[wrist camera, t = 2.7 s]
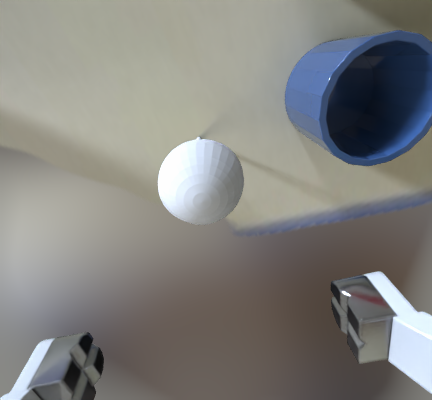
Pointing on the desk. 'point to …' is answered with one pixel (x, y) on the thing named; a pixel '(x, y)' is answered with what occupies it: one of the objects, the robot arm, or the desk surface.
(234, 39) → the desk surface
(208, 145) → the lollipop
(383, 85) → the cup
